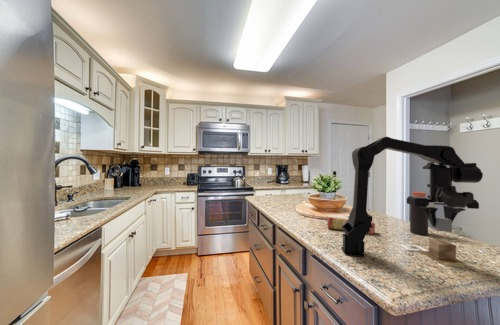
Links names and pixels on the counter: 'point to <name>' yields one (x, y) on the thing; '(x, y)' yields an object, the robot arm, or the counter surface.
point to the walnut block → (442, 249)
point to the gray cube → (442, 224)
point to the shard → (443, 261)
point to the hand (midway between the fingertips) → (440, 226)
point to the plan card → (412, 248)
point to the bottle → (418, 218)
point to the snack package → (342, 223)
